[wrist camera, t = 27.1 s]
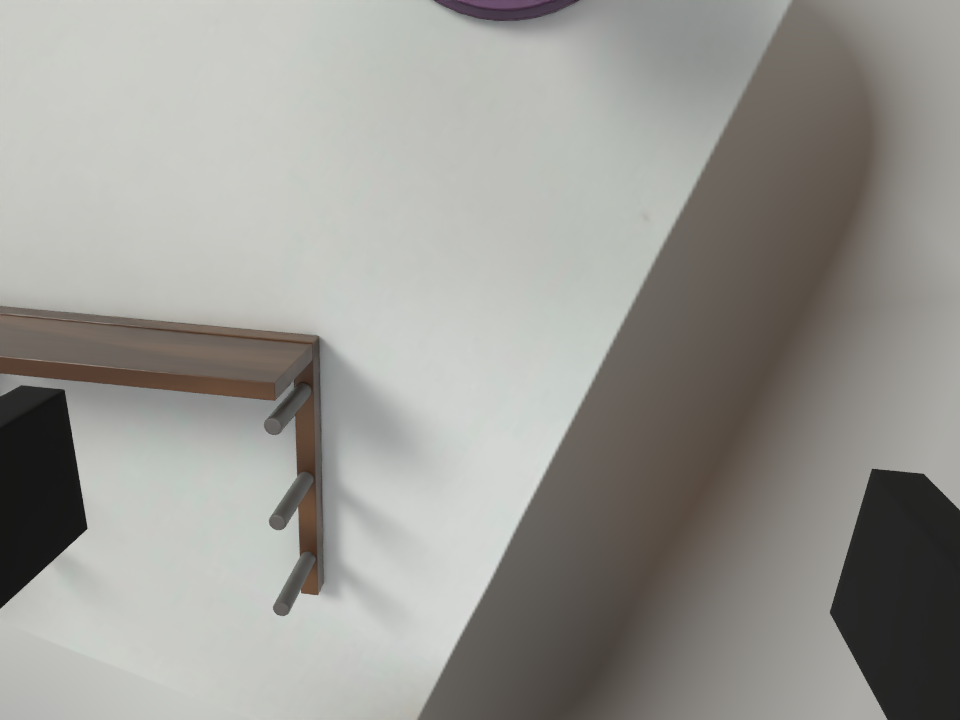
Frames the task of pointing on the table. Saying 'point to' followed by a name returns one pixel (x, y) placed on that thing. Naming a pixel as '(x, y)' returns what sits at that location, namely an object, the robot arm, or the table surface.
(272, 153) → the table surface
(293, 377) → the dish rack
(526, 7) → the plum lid
